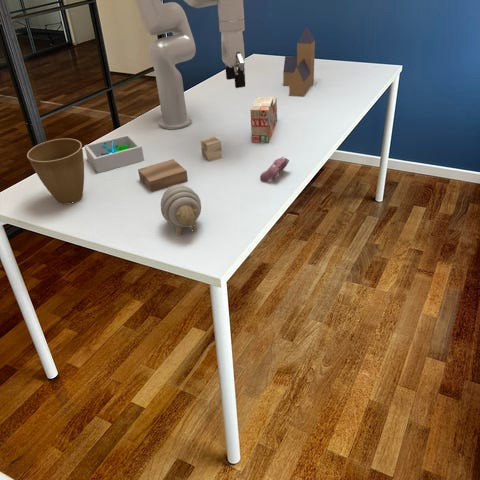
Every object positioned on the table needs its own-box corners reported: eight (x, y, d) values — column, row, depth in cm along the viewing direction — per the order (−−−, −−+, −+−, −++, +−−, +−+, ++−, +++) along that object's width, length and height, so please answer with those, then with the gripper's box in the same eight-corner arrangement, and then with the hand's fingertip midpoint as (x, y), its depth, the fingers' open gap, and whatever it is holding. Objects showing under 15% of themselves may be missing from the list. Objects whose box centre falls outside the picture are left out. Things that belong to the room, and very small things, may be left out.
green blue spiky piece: (108, 163, 158) (100, 141, 158) (97, 171, 163) (89, 149, 163) (137, 159, 167) (129, 138, 167) (126, 167, 172) (118, 146, 172)
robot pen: (87, 159, 167) (84, 145, 164) (131, 147, 173) (129, 134, 170) (97, 173, 158) (94, 159, 155) (144, 160, 164) (141, 146, 161)
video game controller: (269, 188, 146) (278, 171, 141) (257, 179, 147) (266, 162, 142) (284, 174, 153) (294, 158, 148) (273, 165, 154) (282, 149, 149)
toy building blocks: (313, 83, 221) (315, 24, 207) (303, 97, 207) (304, 34, 193) (287, 82, 225) (287, 24, 211) (275, 95, 211) (274, 34, 197)
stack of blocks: (261, 120, 188) (260, 88, 181) (277, 120, 187) (277, 88, 180) (251, 143, 171) (250, 109, 164) (269, 143, 169) (268, 109, 162)
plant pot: (56, 186, 152) (41, 138, 143) (101, 186, 150) (89, 138, 141) (34, 211, 140) (16, 160, 130) (84, 211, 138) (69, 160, 129)
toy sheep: (173, 246, 121) (167, 208, 115) (155, 215, 134) (148, 179, 128) (213, 234, 125) (209, 197, 118) (191, 205, 137) (186, 170, 131)
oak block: (202, 156, 164) (200, 139, 160) (215, 152, 166) (213, 136, 162) (208, 161, 160) (207, 145, 157) (222, 157, 162) (220, 141, 158)
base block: (140, 180, 152) (137, 169, 150) (174, 170, 157) (173, 159, 155) (152, 193, 145) (149, 181, 143) (188, 182, 150) (186, 170, 148)
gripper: (212, 22, 150) (217, 77, 160) (227, 32, 137) (232, 92, 146) (235, 19, 152) (238, 74, 162) (253, 29, 138) (255, 88, 148)
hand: (235, 83), depth 154 cm, fingers open, 9 cm apart
